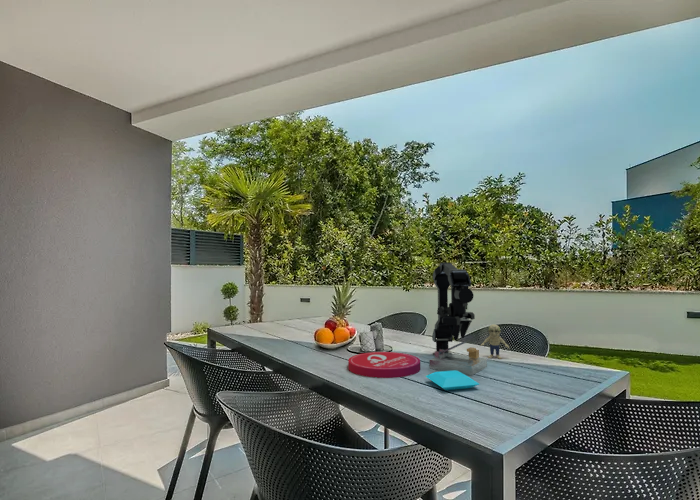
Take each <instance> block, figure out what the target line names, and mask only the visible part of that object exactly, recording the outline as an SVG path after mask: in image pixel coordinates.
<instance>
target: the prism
mask: <svg viewBox="0 0 700 500" xmlns="http://www.w3.org/2000/svg"><path fill="white" fill-rule="evenodd" d="M425 377H426V378H427V379H429V380H430V381H432V383H434V384H435V385H437V386H439V387H440V388H442V389H443V390H445V391H454V390H455V391H456V390H464V389H471V388H474V387H476V386H479V385H481V384H480V383H479V382H478V381H476V380H474V379H473V378H471V377H469V375H465V374H463V373H461V372H459V371H457V370H453V371H442V370H439V371H434V372H432V373H430V374H427V375H425Z"/></svg>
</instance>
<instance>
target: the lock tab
mask: <svg viewBox="0 0 700 500" xmlns="http://www.w3.org/2000/svg"><path fill="white" fill-rule="evenodd" d="M466 352H468V356H469V358H476V359H477V358H479V357H480V350H479V349H477V348H476V347H468V348H466Z"/></svg>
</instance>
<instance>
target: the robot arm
mask: <svg viewBox="0 0 700 500" xmlns="http://www.w3.org/2000/svg"><path fill="white" fill-rule="evenodd" d="M432 280H433V283H434V285H435V287H436V289H437V312H436V314H437V320H436V322H435V324H434V329H433V331H432V336H431V337H432V342H434V343H435V348H436V349H435V351H439V352H440V350H439V349H443V350H446V349H448V348H450V346H449V343H453V340H454V341H458V339H459V336H460V338H461V339H464V338H465V336H466V335H467V332H468V330H469V328H470V325H471V323H472V322H473V320H475V313H473V312H471V311H467V306H468V304H469V303H470V302H472V301H473V300H474V292H473V291H472V289H470V288H471V287H472V281H471V277H470V275H469V273H468V272H467V270H466V269H462V268H461V269H460V268H457V267H456V266H455V265H453V263H452V262H440V263H439V265H438V266H437V267H435V268H434V270H433V273H432ZM469 287H470V288H469ZM449 288H450V294H451V296H450V297H451V300H450V302H449V301H448V300H449V297H448V294H449V293H448V290H449ZM448 302H449V303H448ZM449 351H450V350H448V351H446V352H444V354H445V353H451V352H449ZM433 355H435V352H433Z"/></svg>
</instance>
